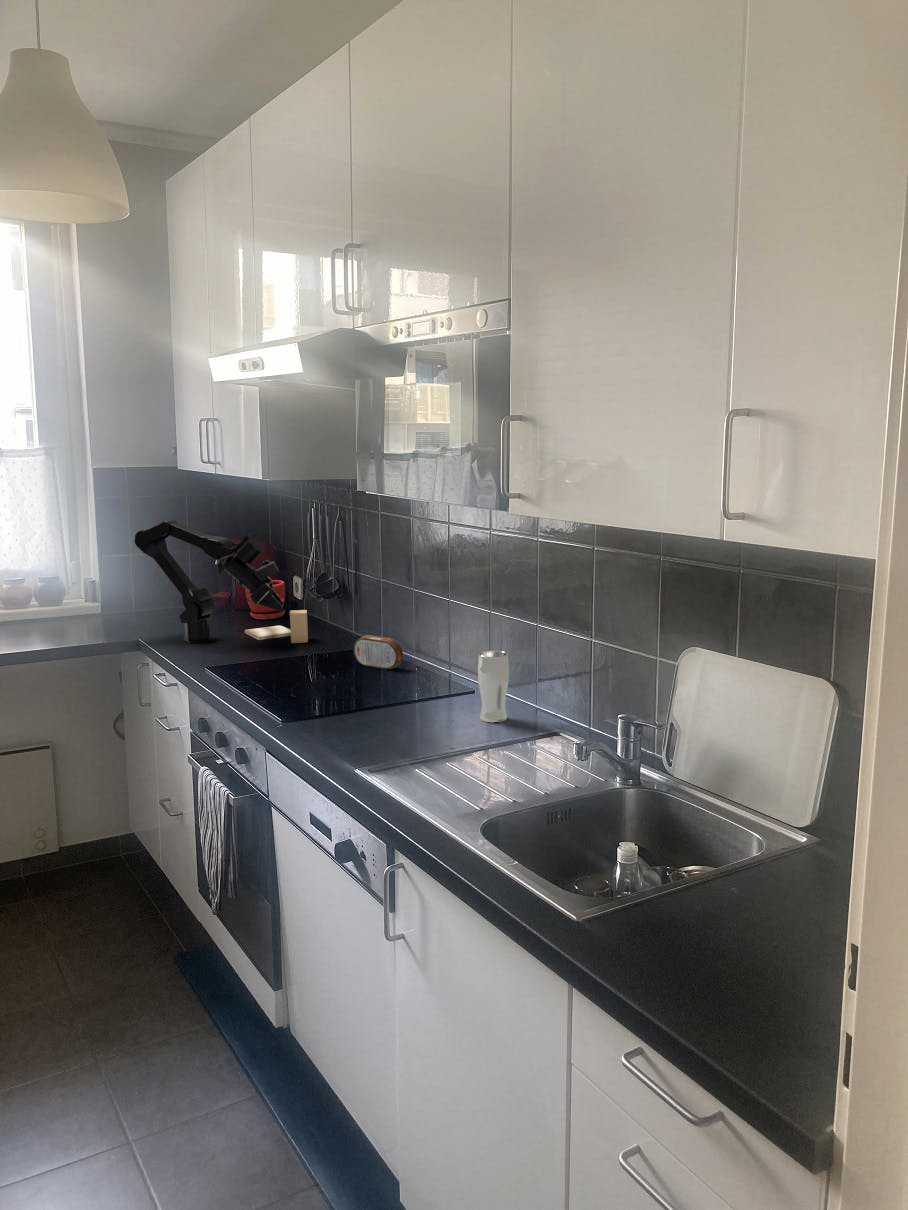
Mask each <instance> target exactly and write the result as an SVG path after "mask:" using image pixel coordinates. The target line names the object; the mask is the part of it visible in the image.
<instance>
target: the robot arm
mask: <svg viewBox="0 0 908 1210" xmlns="http://www.w3.org/2000/svg"><path fill="white" fill-rule="evenodd" d="M169 537H173V538H175V539H178V540H180V541H183V542H185V543H187V544H190V545H192V546H195V547H197V548H198V549H201V550H202V552H203V553H204V555H207V556H209V557H210V558H211V559H213V560H217V561H218V560H222V559H225V560H224V561H221V562H219V563H218V564H217V567H218V568H217V569H218V570H217V571H218V573H217V574H222V573H223V571H226V572H227V574H229V575H231V576H232V577H233V578H234V579H235V580H236V581H237V582H238V584H239V585H240V586H242V587H244V589H245V588H246V589H248V590H249V593H250V594H251V600H252V601H253V602H254V603H256V604H260V605H263V606H266V607H269V608H272V609H275V610H278V611H282V610H283V609H284V608H283V607H282V605H283V606H284V604H283V602H282V600H281V599H280V598H279V596H278V595H277V594H276V592H275V591H274V589H273V582H272V581H271V580H272V578H271V576H272V575H276V574H277V573H279V572H280V571H279V568H278V566H277V564H276V562H275V561H274V560H272V561H270V560H269V559H265V560H264V561H263V562H262V566H260V567H259V568H256V567H255V566H251V565H249V564H253V563H254V562H255V561H256V560H257V559H258V558H259V557H260V556H261V555H262V554H263V553H264V552H265V551H266V550H265V549H266V548H265V546H264V544H263V542H262V541H260V540H258V539H257V538H255V537H253V536H252V535H251V534H247V535H245V536H244V537H243V539H242V540H241V541H240V542H239V543H237V542H233V540H232V539H231V538H228V537H224V536H223V537H222V536H219V535H218V536H215V535H210V534H205V533H204V532H202V531H199V530H196V529H194V528H192V527H190V526H187V525H185V524H182V523H179V522H178V521H176V520H175V519H174V520H173V519H171V520H163V521H162V522H160V523H159V524H157V525H154V526H153V527H151V528H148V529H143V530H138V531H137V532H136V534H135V536H134V541H133V542H134V544H135V546H136V547H137V549H138V550H140V551H141V552H142V553H143V554H145V556H146V555H147V556H148V557H150V558H152V560H154V561H155V562H156V564H157V565H158V566H159V568H160V569H161V570H162V572H163V573H164V575H165V576H166V577H167V578H168V580H169V581H170V582H171V583H172V585H173V586H174V587H175V589H176V590H177V591H178V593H179V594H180V596H181V598H182V605H183V607H184V611H182V613H180V615H179V620H180V622H181V623H182V624H184V637H183V641H185V642H186V643H189V644H195V643H201V642H210V641H211V638H210V637H211V633H210V632H211V631H210V630H211V629H210V624H209V623H208V619H210V618H211V615H212V613H213V611H214V609H215V601H214V600H213V598H214V597H213V596H212V595H211V594H210V593H209V591H208V589H206V587H203V588H198V587H197V586H195V584H194V583H193V581H191V579H190V577H188V576H187V574H186V572H185V571H184V570H183V569H182V567H181V566H180V565H179V563H178V562H177V561H176V559H175V558H174V557H173V555H172V554H171V553H170V551H169V550H168V547H167V541H166V539H168V538H169ZM233 554H235V555H234V556H232V555H233ZM269 581H271V582H270V583H269V584H268V582H269ZM246 589H245V590H246Z"/></svg>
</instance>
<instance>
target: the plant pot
mask: <svg viewBox="0 0 908 1210" xmlns="http://www.w3.org/2000/svg"><path fill="white" fill-rule="evenodd" d="M271 581H272V582H273V589H274V591H275V592H276V594H277V595H278V596H279V598H280V599H281V600H282V602H283V605H282V608H283V607H284V603H285V599H286V598H285V597H286V586H285V582H284V581H283V580H280V579H279V580H278V579H274V580H273V579H271ZM271 581H269V582H268V584H269V583H270V582H271ZM244 589H245V597H246V601H247V604H248V606H249V608H250V610H251V611H250V613H249V615H250V616H251V617H252V618H253V619H256V620H261V621H262V620H263V621H264V620H272V619H277V618H281V617H283V616H284V614H285V612H286V610H285V609H284V608H283V610H282V611H278V610H275V609H272V608H269V607H266V606H263V605H260V604H256V603H254V602H253V601H252V600H251V594H250V593H249V590H248V589H246V588H245V587H244Z"/></svg>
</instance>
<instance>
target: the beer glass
mask: <svg viewBox="0 0 908 1210" xmlns="http://www.w3.org/2000/svg"><path fill="white" fill-rule="evenodd" d="M509 677H510V665H509V653H508V652H507V651H504V650H495V649H493V650H489V649H488V650H484V651H479V652H478V660H477V682H478V689H479V694H480V699H481V710H480V713H479V714H480V715H479V720H480V721H482V722H485V723H488V722H490V723H493V724H495V723H494V722H499V723H503V722H505V721H507V719H508V716H507V711H506V710H507V709H506V697H507V692H508V688H509V687H508V685H509Z"/></svg>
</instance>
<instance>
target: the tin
mask: <svg viewBox="0 0 908 1210" xmlns="http://www.w3.org/2000/svg"><path fill="white" fill-rule="evenodd" d="M353 654H354V657H355V659H356V661H357V662H358V663H359V664H360V665H362V666H364V667H369V668H374V669H375V668H376V669H382V670H387V669H389V670H392V669H396V668H398V667H399V666H400V665H401V664H402V662H403V659H404V653H403V648H402V646H401V645H400V643H399V642H398V641H396V640H395V639H393V638H392V637H385V636H376V635H371V634H365V635H363V636H362V637H360V638H358V639H356V641H355V642H354V643H353Z"/></svg>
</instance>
